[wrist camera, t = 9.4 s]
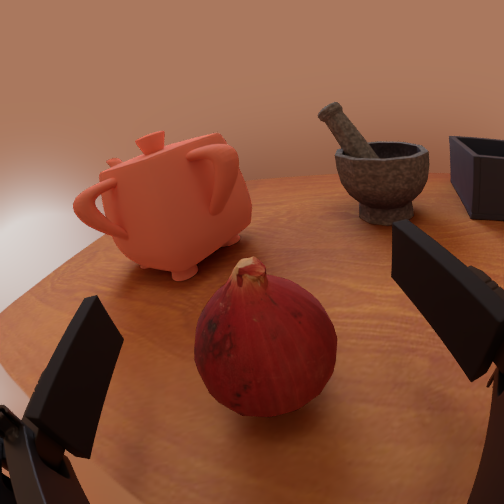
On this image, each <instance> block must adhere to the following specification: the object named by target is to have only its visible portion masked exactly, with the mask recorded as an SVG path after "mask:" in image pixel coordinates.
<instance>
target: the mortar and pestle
mask: <svg viewBox="0 0 504 504" xmlns="http://www.w3.org/2000/svg"><path fill="white" fill-rule="evenodd" d="M318 118H319V119H320V120H321V121H323V122H325V123H326V125H327V126H328V127H329V129H330V131H331V132H332V134H333V135H334V137H335V138H336V140H337V142H338V143H339V145H340V146H341V149H338V150H337V152H336V154H335V159H336V166H337V171H338V174H339V177H340V181H341V183H342V185H343V186H344V188H345V189H346V191H347V192H348V193H349V195H350V196H352V197H353V198H354V199H356V200H357V201H358V202H360V204H359V217H360V218H361V219H363V220H365V221H367V222H368V223H371V224H379V225H387V226H389V225H392V223H393V222H397V221H401V220H405V219H407V220H409V219H410V218H412V217H413V216H414V214H413V206H412V201H413V200H414V199H415V198H416V197H417V196H418V195H419V194H420V193H421V192H422V190H423V188H424V186H425V184H426V182H427V180H428V171H429V152H428V150H426V149H425V148H424V147H423V146H421V145H416V144H411V143H406V142H370V143H367V142H366V140H365V139H364V137H363V136H362V135H361V134H360V132H359V131H358V130H357V129H356V127H355V126H354V125H353V124H352V123H351V121H350V120H349V119H348V118H347V116H346V115H345V114H344V113H343V111H342V107H341V105H340V104H339V103H337V102H334V103H331V104H329V105H327V106H326V107H324V108H323V109H322V110H321V111H320V112H319V114H318Z"/></svg>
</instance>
